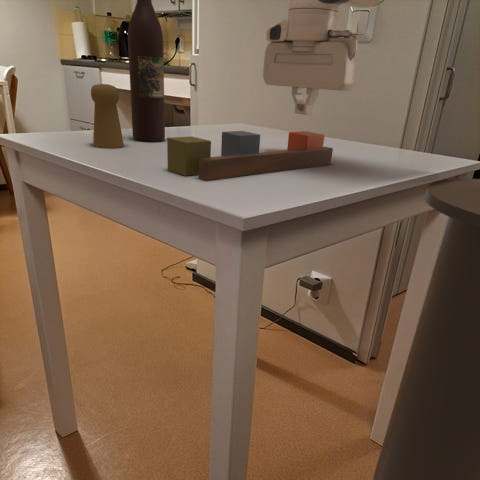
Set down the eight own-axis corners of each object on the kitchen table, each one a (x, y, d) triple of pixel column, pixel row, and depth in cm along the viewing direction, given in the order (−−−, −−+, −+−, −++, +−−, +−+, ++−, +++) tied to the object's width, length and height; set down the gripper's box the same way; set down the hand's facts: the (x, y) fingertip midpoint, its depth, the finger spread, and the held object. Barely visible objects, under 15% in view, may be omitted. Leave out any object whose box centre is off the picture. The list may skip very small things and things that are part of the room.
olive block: (210, 173, 75) (211, 140, 72) (185, 176, 72) (185, 142, 69) (191, 167, 78) (192, 136, 76) (167, 170, 75) (167, 137, 73)
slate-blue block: (258, 163, 85) (260, 134, 83) (238, 165, 82) (240, 135, 80) (240, 158, 88) (242, 130, 86) (220, 160, 85) (221, 131, 83)
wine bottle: (138, 142, 97) (130, -33, 83) (129, 137, 103) (120, -28, 88) (169, 141, 100) (167, -27, 86) (159, 137, 106) (155, -23, 91)
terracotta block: (321, 161, 92) (324, 134, 89) (304, 163, 89) (307, 135, 86) (302, 156, 95) (305, 131, 92) (286, 158, 92) (288, 132, 89)
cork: (116, 149, 89) (112, 85, 83) (87, 146, 90) (81, 83, 84) (128, 144, 94) (125, 85, 89) (101, 142, 95) (96, 82, 89)
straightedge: (330, 164, 89) (333, 148, 87) (206, 180, 70) (206, 160, 68) (322, 162, 90) (325, 146, 89) (198, 178, 71) (198, 158, 70)
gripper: (369, 31, 78) (356, 119, 84) (282, 33, 91) (277, 109, 97) (347, 27, 74) (335, 120, 81) (260, 30, 87) (256, 109, 94)
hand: (302, 114), depth 89 cm, fingers closed
